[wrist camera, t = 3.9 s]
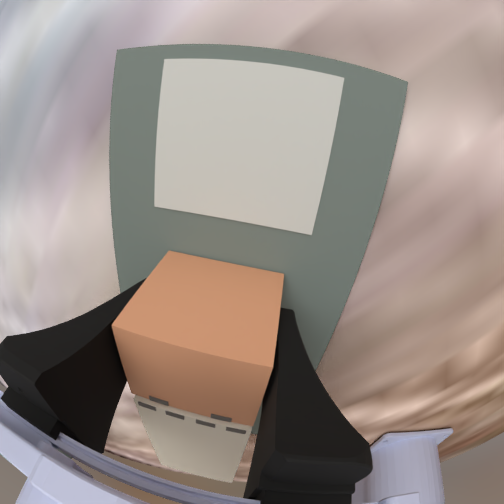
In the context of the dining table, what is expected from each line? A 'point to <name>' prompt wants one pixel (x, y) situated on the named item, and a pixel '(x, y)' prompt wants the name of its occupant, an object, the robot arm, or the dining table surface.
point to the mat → (252, 167)
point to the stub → (202, 336)
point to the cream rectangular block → (193, 440)
